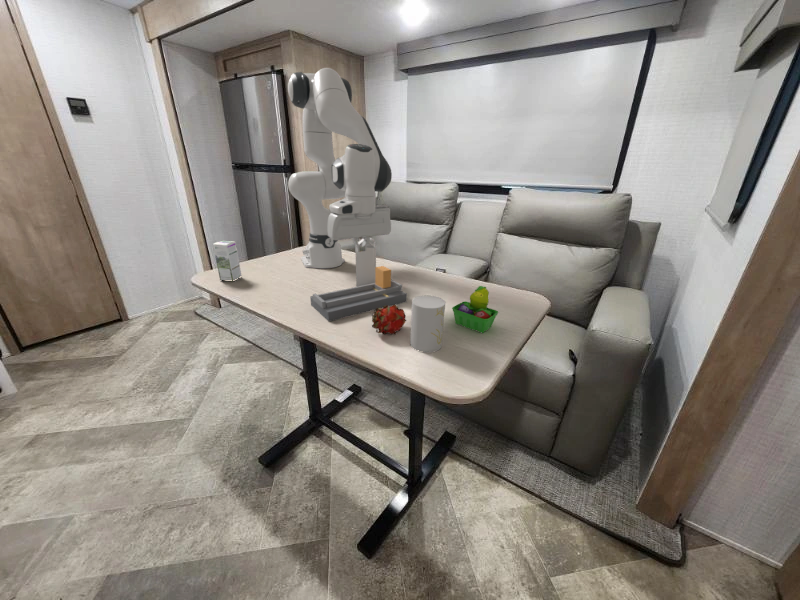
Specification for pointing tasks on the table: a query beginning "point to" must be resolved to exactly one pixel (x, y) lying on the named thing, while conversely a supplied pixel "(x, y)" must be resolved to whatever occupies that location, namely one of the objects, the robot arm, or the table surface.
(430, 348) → the cup
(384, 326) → the dragon fruit
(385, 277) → the fader
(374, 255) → the milk carton
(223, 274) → the syrup box
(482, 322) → the fruit basket
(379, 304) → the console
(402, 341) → the table surface
